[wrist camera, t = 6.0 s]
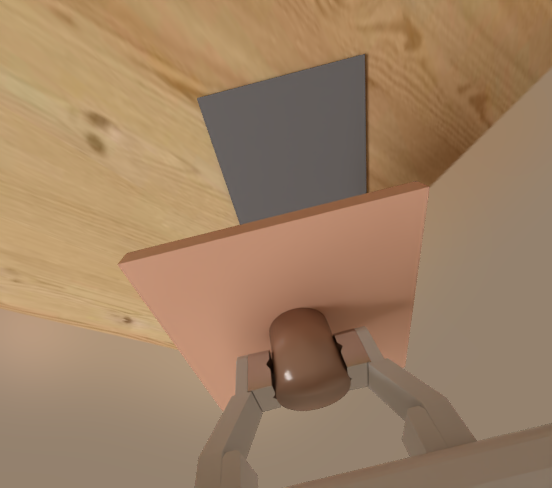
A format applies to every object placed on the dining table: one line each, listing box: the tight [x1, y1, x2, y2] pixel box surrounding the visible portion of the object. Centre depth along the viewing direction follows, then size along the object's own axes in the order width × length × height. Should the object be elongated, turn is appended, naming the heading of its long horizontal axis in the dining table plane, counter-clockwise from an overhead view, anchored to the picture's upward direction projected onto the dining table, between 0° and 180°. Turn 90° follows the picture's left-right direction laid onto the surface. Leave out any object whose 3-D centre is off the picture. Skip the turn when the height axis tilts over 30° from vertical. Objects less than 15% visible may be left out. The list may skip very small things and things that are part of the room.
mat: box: [197, 54, 366, 225], centre depth 26 cm, size 16×16×1 cm
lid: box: [118, 181, 430, 411], centre depth 11 cm, size 12×12×4 cm
